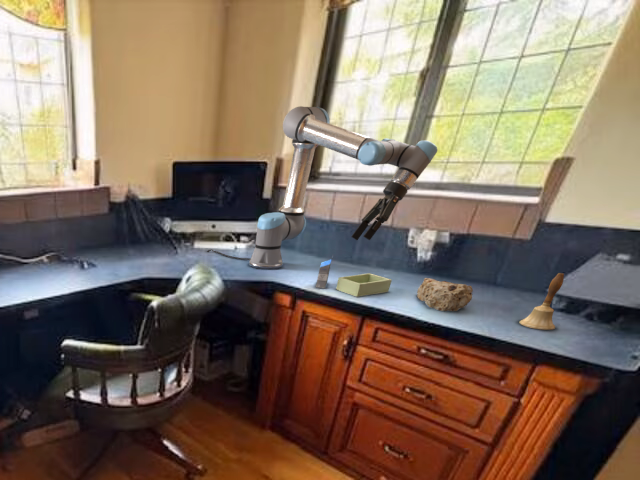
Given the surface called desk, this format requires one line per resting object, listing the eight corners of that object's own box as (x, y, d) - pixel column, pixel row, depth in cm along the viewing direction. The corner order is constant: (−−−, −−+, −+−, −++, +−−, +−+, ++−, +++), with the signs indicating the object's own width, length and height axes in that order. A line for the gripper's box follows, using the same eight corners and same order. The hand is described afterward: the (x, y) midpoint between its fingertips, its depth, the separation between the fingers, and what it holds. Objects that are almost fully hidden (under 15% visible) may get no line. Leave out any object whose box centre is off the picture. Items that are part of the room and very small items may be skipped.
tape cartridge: (317, 282, 176) (323, 252, 170) (327, 283, 174) (333, 252, 168) (315, 287, 169) (321, 256, 163) (325, 288, 168) (332, 257, 162)
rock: (407, 295, 160) (422, 270, 155) (447, 307, 157) (463, 281, 153) (424, 307, 142) (441, 278, 137) (470, 320, 139) (488, 291, 135)
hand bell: (514, 319, 134) (536, 269, 126) (545, 321, 132) (570, 270, 124) (527, 329, 127) (551, 276, 119) (560, 331, 125) (588, 278, 117)
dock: (335, 289, 167) (338, 277, 164) (366, 284, 171) (369, 273, 169) (356, 296, 158) (360, 284, 155) (388, 291, 162) (392, 279, 160)
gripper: (423, 187, 145) (380, 243, 152) (393, 194, 168) (357, 243, 176) (405, 175, 145) (363, 232, 152) (377, 185, 168) (342, 233, 175)
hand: (360, 238), depth 164 cm, fingers open, 13 cm apart
